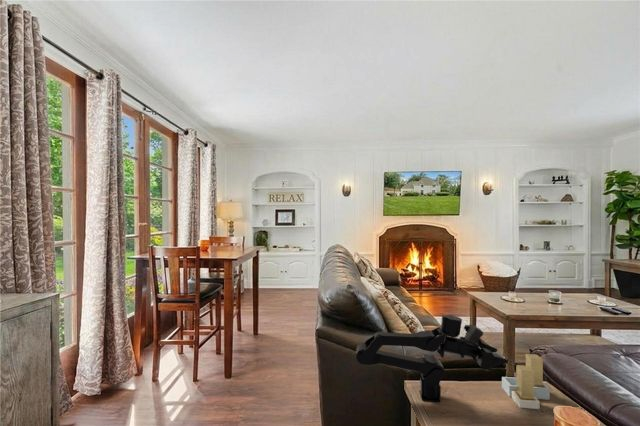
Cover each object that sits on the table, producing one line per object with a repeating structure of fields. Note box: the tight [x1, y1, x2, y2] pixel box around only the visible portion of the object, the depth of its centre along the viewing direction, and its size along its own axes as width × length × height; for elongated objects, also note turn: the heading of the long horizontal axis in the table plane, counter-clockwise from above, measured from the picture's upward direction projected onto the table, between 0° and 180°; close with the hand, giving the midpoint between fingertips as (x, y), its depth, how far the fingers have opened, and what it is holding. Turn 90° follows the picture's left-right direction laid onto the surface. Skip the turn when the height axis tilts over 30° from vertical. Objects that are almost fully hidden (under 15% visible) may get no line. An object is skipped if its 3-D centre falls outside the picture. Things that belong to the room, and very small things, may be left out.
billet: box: [515, 364, 534, 400], centre depth 116 cm, size 4×4×12 cm
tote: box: [511, 391, 541, 410], centre depth 116 cm, size 6×6×2 cm
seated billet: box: [525, 353, 544, 387], centre depth 122 cm, size 4×4×12 cm
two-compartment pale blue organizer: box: [501, 376, 551, 401], centre depth 123 cm, size 14×7×4 cm, turn 82°
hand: (502, 355), depth 117 cm, fingers open, 9 cm apart
